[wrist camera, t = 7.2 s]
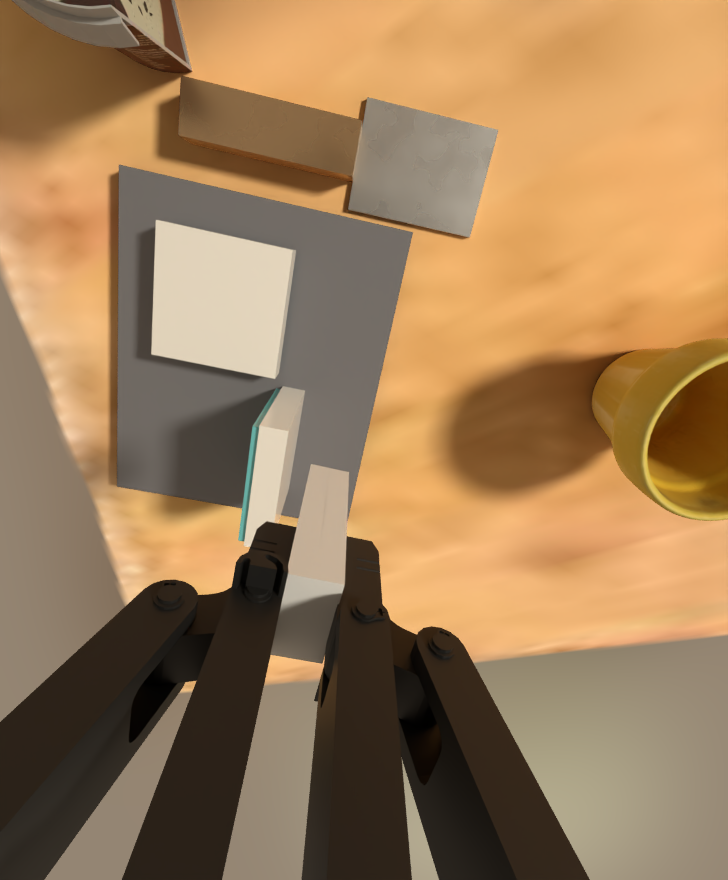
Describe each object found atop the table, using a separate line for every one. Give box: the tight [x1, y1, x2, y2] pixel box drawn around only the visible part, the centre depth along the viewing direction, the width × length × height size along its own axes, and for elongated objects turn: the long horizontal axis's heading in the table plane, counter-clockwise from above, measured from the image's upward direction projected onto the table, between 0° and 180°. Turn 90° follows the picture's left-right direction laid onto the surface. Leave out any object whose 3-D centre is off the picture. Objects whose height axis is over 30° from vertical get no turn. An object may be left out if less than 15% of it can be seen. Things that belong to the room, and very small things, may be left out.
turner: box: [178, 76, 498, 238], centre depth 27 cm, size 18×6×2 cm, turn 78°
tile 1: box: [151, 220, 296, 379], centre depth 29 cm, size 8×2×8 cm
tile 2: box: [238, 386, 305, 547], centre depth 30 cm, size 8×2×8 cm, turn 168°
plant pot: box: [592, 338, 728, 521], centre depth 30 cm, size 10×10×10 cm
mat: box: [117, 165, 413, 521], centre depth 33 cm, size 22×18×1 cm
